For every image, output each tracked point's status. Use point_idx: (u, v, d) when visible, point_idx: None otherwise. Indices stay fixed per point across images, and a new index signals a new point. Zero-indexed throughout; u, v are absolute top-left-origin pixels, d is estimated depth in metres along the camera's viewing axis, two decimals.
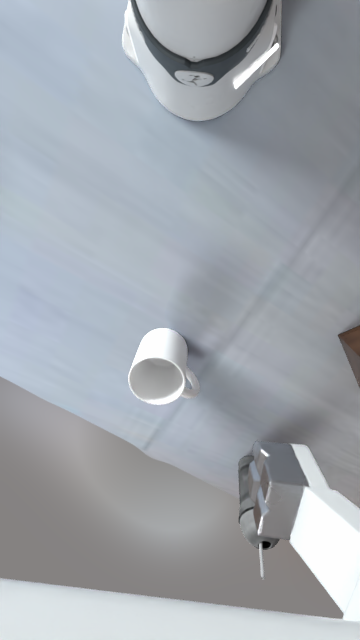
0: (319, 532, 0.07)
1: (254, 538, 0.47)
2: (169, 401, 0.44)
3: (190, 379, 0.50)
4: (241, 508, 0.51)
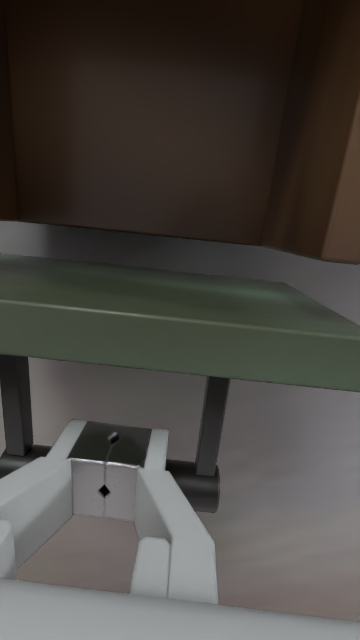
0: (144, 512, 0.07)
1: None
2: None
3: None
4: None
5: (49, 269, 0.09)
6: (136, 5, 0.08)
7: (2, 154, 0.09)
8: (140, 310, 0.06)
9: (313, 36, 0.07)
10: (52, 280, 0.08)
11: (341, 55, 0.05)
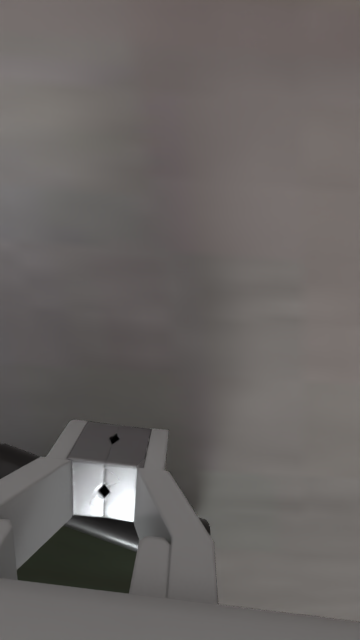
0: (144, 512, 0.07)
1: None
2: None
3: None
4: None
5: None
6: None
7: None
8: None
9: None
10: None
11: None
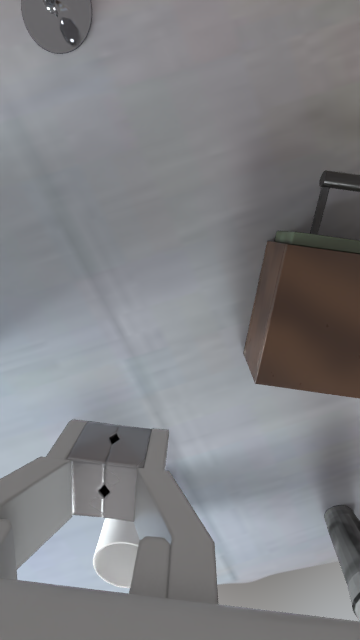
0: (144, 512, 0.07)
1: None
2: None
3: None
4: (352, 602, 0.37)
5: None
6: None
7: None
8: None
9: None
10: None
11: None
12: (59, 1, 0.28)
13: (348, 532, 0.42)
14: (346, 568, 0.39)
